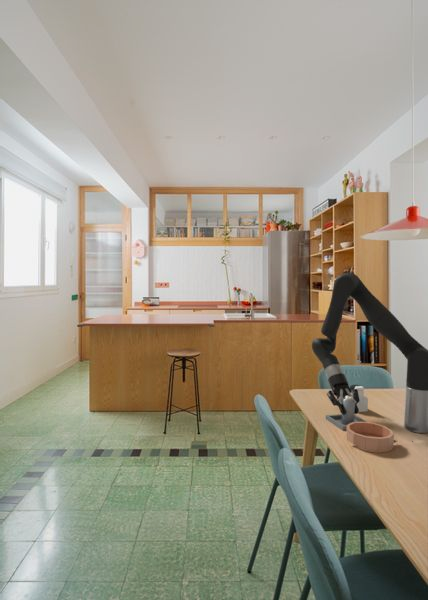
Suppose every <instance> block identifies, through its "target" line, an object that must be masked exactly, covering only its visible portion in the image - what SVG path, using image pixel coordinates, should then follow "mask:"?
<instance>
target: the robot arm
mask: <svg viewBox="0 0 428 600" xmlns="http://www.w3.org/2000/svg"><path fill="white" fill-rule="evenodd" d="M333 282H334V283H333V287H332V294H331V297H330V298H331V299H330V302H329V307H328V308H327V309H328V310H327V312H326V315H325V317H324V319H323V323H322V326H321V329H320V332H321V334H322V335H323V336H325V337H326V338H323V337H317V338H314V339H313V340H312V343H311V349H312V351H313V353H314V355H315V356H316V358H317V359H318V361H320V363H321V364H322V367H323V370H324V372H325V376H326V379H327V382H328V385H329V386H330V387H329V388H330V389H331V390H329V391H328V392H327V393H326V395H327V397H328V399H329V400H330V402H331V404H332V405H333V406H336V407H338V409H339V412H340V414H343V415H345V414H346V410H345V407H344V405H343V404H342V399H343V398H345V396H347V395H348V396H349V397H353V398H354V399H355V415H358V413H359V412H358V411H359V409H358V407H357V403H358V402H359V401H360V400H359V395H358V390H357V389H355V390H352V389H351V388H350V386H349V381H348V380H347V377H346V375H345V372H344V369H342V366H341V364H340V362H339V360H338V358H337V356H336V355H335V354H333V352H334V351H335V350H336V348H337V347H336V346H337V335H338V331H339V329H340V326H341V323H342V319H343V314H344V313H343V312H344V308H345V306H346V304H347V302H348V300H349V298H350V297H351V298H352V299H353V300H354V301H355V302H356V303H357V304H358V305H359V307H360V309H361V311H362V312H363V315H364V317H365V319H366V320H367V321H368V323H369V324H370V325H371V326H372V327H373V328H374V329H375V330H376V331H377V333H379V334H380V335H381V336H383V338H385V339H386V340H388V341H389V342H390V343H392V345H394V346H395V347H397V349H398V350H399V351H400V352H401V354H402V355H403V356H404V357H405V358H406V359H405V360H406V361H407V365H406V366H407V368H406V380H405V381H406V382H405V400H404V401H405V403H404V404H405V405H404V424H403V427H404V428H405V430H407V431H410V432H413V433H416V434H417V433H418V434H428V349H427V348H426V347H425V346H423V345H422V344H421V343H420V342H419V341H417V340H416V339H415V338H414V337H413V336H412V335H411V334H410V333H409V332H408V330H407V329H406V328H405V326H404V325H403V324H402V323H401V321H399V320H398V318H397V317H396V316H395V315H394V314H393V313H392V312H391V311H390V310H389V309H388V307H386V306H385V305H384V304H383V303H382V302H381V301H380V300H379V299H378V298H377V297H376V296H375V295H374V294H373V293H372V292H371V291H370V290H369V289H368V287H367V286H366V285H365V284H364V282H363V281H362V280H361V279H360V277H359V276H358V275H357V274H355V273H353V272H344V273H341V274H340V275H338V276H337V277H336V278H335V280H334V281H333ZM351 393H352V394H351ZM352 395H353V396H352Z"/></svg>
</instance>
